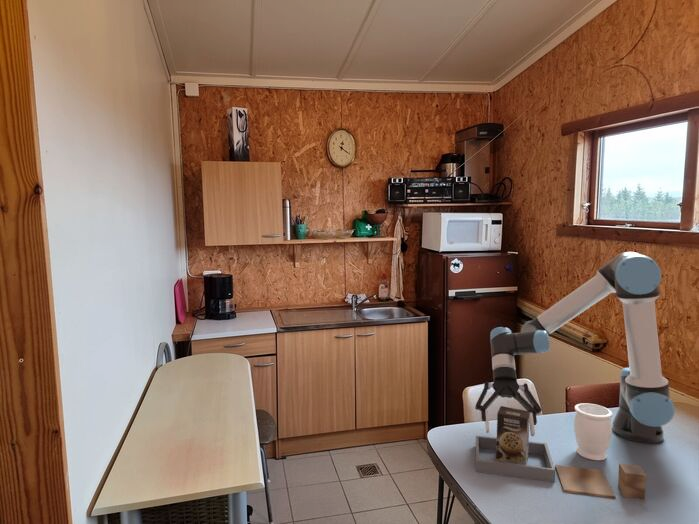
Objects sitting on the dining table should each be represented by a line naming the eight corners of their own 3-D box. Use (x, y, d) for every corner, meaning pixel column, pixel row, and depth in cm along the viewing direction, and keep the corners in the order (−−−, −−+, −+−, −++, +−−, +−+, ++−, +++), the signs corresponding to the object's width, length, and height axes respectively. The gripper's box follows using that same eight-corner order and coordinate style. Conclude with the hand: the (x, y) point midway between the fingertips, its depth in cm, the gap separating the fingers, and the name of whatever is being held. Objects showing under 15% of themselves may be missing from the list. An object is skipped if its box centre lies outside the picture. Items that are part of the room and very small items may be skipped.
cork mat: (602, 472, 136) (602, 470, 136) (615, 498, 123) (615, 496, 123) (555, 466, 139) (555, 464, 139) (563, 491, 127) (563, 489, 127)
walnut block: (637, 489, 128) (639, 465, 127) (644, 499, 123) (646, 475, 122) (618, 486, 129) (619, 463, 128) (623, 497, 124) (625, 473, 123)
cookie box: (495, 462, 142) (496, 412, 141) (498, 452, 148) (499, 405, 146) (526, 469, 138) (527, 418, 136) (528, 459, 144) (530, 410, 142)
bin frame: (546, 453, 147) (546, 443, 146) (555, 481, 131) (555, 470, 131) (475, 445, 152) (475, 435, 152) (476, 471, 137) (476, 460, 137)
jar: (568, 454, 146) (570, 410, 144) (578, 442, 153) (580, 400, 152) (605, 466, 139) (607, 419, 137) (614, 453, 146) (616, 408, 145)
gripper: (540, 377, 156) (549, 440, 143) (465, 373, 160) (468, 433, 147) (544, 367, 150) (555, 432, 137) (467, 363, 154) (469, 425, 141)
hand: (510, 433), depth 142 cm, fingers open, 13 cm apart
